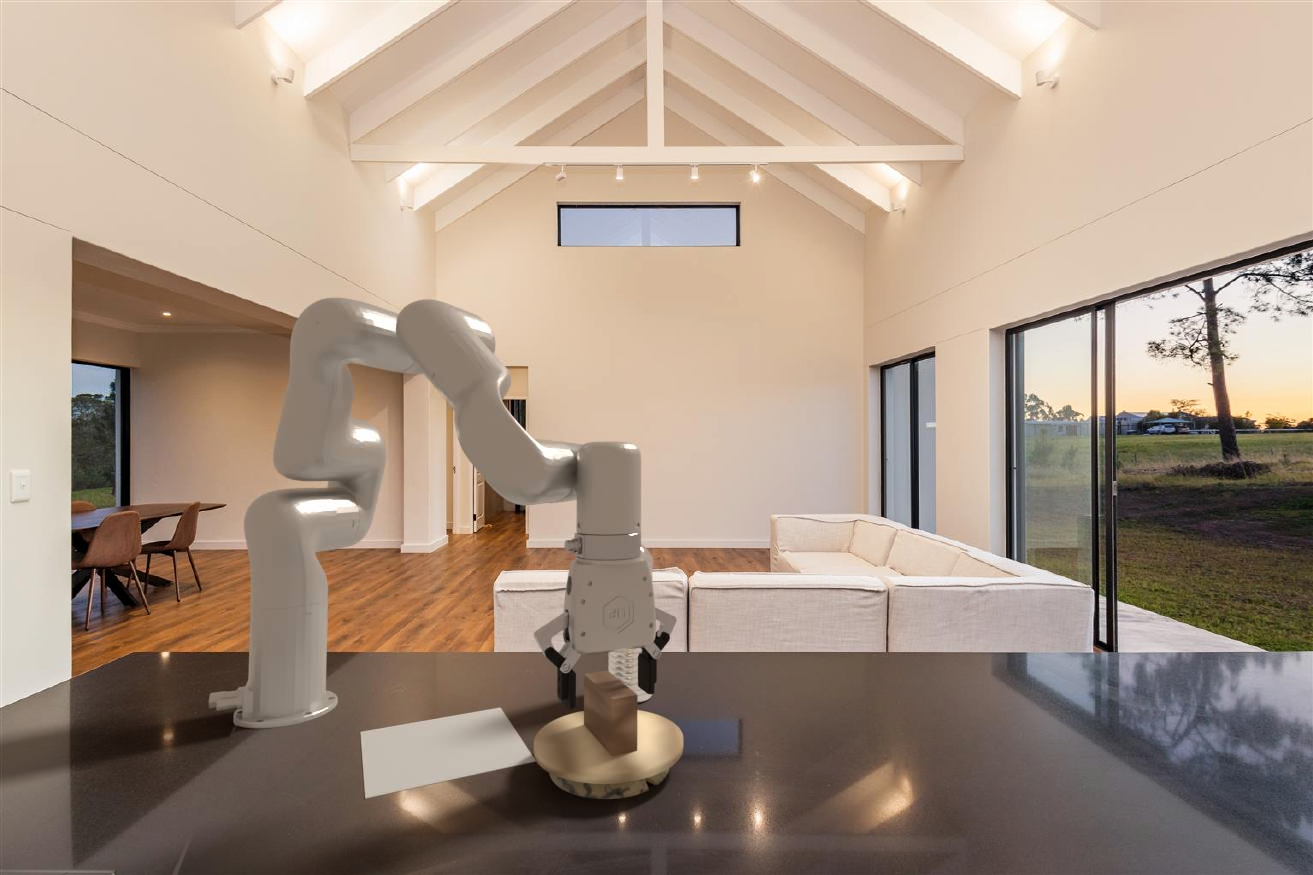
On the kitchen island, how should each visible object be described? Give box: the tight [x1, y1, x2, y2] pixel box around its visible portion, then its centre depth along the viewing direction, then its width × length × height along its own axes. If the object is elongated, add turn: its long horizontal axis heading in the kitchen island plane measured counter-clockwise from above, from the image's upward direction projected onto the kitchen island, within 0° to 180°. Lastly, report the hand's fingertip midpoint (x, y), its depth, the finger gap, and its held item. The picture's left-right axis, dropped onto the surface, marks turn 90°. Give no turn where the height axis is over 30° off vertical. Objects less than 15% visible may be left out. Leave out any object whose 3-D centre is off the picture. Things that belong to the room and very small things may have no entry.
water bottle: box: [607, 543, 654, 704], centre depth 95 cm, size 7×7×25 cm
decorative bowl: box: [549, 768, 670, 800], centre depth 71 cm, size 15×4×15 cm
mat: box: [359, 707, 537, 800], centre depth 76 cm, size 18×18×1 cm
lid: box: [533, 670, 684, 784], centre depth 71 cm, size 17×17×7 cm
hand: (608, 697), depth 71 cm, fingers open, 9 cm apart
